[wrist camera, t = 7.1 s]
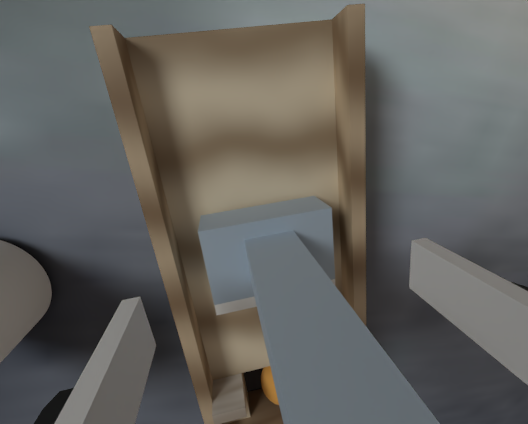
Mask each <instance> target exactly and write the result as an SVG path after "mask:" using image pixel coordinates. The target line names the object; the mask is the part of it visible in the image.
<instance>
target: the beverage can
mask: <svg viewBox="0 0 528 424" xmlns="http://www.w3.org/2000/svg"><path fill="white" fill-rule="evenodd" d="M51 297H52V289H51V284H50V280H49V278H48V275H47V273H46V272H45V270H44V269H43V267H42V266H41V265H40V264H39V262H38V261H37V260H36V259H35V258H33V257H32V256H31V255H30V254H28V253H27V252H25V251H24V250H22V249H21V248H19V247H17V246H15V245H13V244H10V243H8V242H5V241H2V240H0V363H1V362H2V360H3V359H4V358H5V357H6V356H7V355H8V354H9V353H10V352H11V351H12V350H13V349H14V347H15V346H16V345H17V344H18V343H19V342H20V341H21V340H22V339H23V338H24V337H25V336H26V334H27V333H28V332H29V331H30V330H31V329H32V328H33V327H34V326H35V325H36V324H37V322H38V321H39V320H40V319H41V318H42V317H43V316H44V314H45V313H46V312H47V310H48V308H49V305H50V302H51Z"/></svg>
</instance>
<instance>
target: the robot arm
mask: <svg viewBox="0 0 528 424" xmlns="http://www.w3.org/2000/svg"><path fill="white" fill-rule="evenodd" d="M409 288H410V289H411V290H413V291H414V292H415V293H416V294H417V295H419V296H420V297H421V298H422V299H424V300H425V301H426V302H427V303H428V304H430V305H431V306H432V307H433V308H434V309H436V310H437V311H438V312H439V313H441V314H442V315H443V316H444V317H445V318H447V319H448V320H449V321H450V322H451V323H453V324H454V325H455V326H456V327H458V328H459V329H460V330H461V331H462V332H464V333H465V334H466V335H467V336H468V337H470V338H471V339H472V340H473V341H475V342H476V343H477V344H478V345H479V346H481V347H482V348H483V349H484V350H485V351H487V352H488V353H489V354H490V355H492V356H493V357H494V358H495V359H496V360H498V361H499V362H500V363H501V364H502V365H504V366H505V367H506V368H507V369H509V370H510V371H511V372H512V373H513V374H515V375H516V376H517V377H518V378H519V379H521V380H522V381H523V382H524V383H526V384H527V385H528V287H525V286H522V285H519V284H516V283H513V282H509V281H507V280H505V279H503V278H501V277H500V276H498V275H496V274H494V273H492V272H490V271H488V270H486V269H484V268H482V267H480V266H478V265H477V264H475V263H473V262H471V261H469V260H467V259H465V258H463V257H461V256H459V255H457V254H455V253H454V252H452V251H450V250H448V249H446V248H444V247H442V246H440V245H438V244H436V243H434V242H432V241H431V240H429V239H427V238H422V239H418V240H413V241H412V244H411V261H410V279H409ZM155 348H156V343H155V340H154V337H153V334H152V331H151V328H150V325H149V322H148V319H147V316H146V313H145V310H144V307H143V304H142V301H141V297H135V298H131V299H126V300H122V301H121V303H120V305H119V307H118V308H117V310H116V312H115V314H114V316H113V318H112V319H111V321H110V323H109V325H108V327H107V329H106V330H105V332H104V334H103V336H102V338H101V339H100V341H99V343H98V345H97V347H96V349H95V350H94V352H93V354H92V356H91V358H90V360H89V361H88V363H87V365H86V367H85V369H84V370H83V372H82V374H81V376H80V378H79V380H78V381H77V383H76V385H75V387H74V388H72V389H67V390H63V391H60V392H59V393H58V394H57V395H56V396H55V397H54V398H53V399H52V400H51V401H50V402H49V403H48V404H47V405H46V406H45V407H44V409H43V410H42V411H41V413H40V415H39V416H38V418H37V420H36V421H35V423H34V424H135V421H136V417H137V414H138V410H139V407H140V403H141V399H142V396H143V392H144V388H145V385H146V381H147V377H148V374H149V370H150V367H151V363H152V359H153V356H154V352H155Z"/></svg>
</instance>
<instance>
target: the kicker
mask: <svg viewBox="0 0 528 424" xmlns="http://www.w3.org/2000/svg"><path fill="white" fill-rule="evenodd" d="M198 235H199V239H200V244H201V248H202V253H203V257H204V262H205V266H206V270H207V275H208V279H209V284H210V288H211V293H212V297H213V301H214V306H215V310H216V315H221V314H226V313H230V312H235V311H239V310H244V309H248V308H253V307H257V310H258V314H259V319H260V323H261V328H262V332H263V336H264V341H265V345H266V350H267V354H268V358H269V363H270V367H271V371H272V376H273V380H274V385H275V389H276V393H277V398H278V402H279V406H280V411H281V415H282V420H283V424H440V423H439V422H438V421H437V419H436V418H435V417H434V416H433V414H432V413H431V412H430V410H429V409H428V408H427V406H426V405H425V404H424V402H423V401H422V400H421V398H420V397H419V396H418V394H417V393H416V392H415V390H414V389H413V388H412V386H411V385H410V384H409V383H408V381H407V380H406V379H405V377H404V376H403V375H402V373H401V372H400V371H399V369H398V368H397V367H396V365H395V364H394V363H393V361H392V360H391V359H390V357H389V356H388V355H387V354H386V352H385V351H384V350H383V348H382V347H381V346H380V344H379V343H378V342H377V340H376V339H375V338H374V336H373V335H372V334H371V332H370V331H369V330H368V328H367V327H366V326H365V324H364V323H363V322H362V321H361V319H360V318H359V317H358V315H357V314H356V313H355V311H354V310H353V309H352V307H351V306H350V305H349V303H348V302H347V301H346V299H345V298H344V297H343V295H342V294H341V293H340V292H339V290H338V289H337V288H336V286H335V266H334V246H333V225H332V208H331V207H330V206H329V205H327V204H326V203H324V202H323V201H321V200H320V199H318V198H317V197H315V196H310V197H304V198H299V199H293V200H287V201H281V202H276V203H270V204H264V205H258V206H253V207H247V208H241V209H235V210H230V211H224V212H218V213H212V214H207V215H201V217H200V222H199V228H198Z"/></svg>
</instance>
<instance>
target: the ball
mask: <svg viewBox="0 0 528 424" xmlns="http://www.w3.org/2000/svg"><path fill="white" fill-rule="evenodd" d="M261 386H262V389H263V392H264V394H265V395H266V397H267V398H268V399H269V400H270V401H271V402H273V403H274V404H277V405H279V402H278V398H277V393H276V389H275V385H274V380H273V376H272V371H271V367H270V366H268V367H264V368H263V370H262V373H261Z"/></svg>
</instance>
